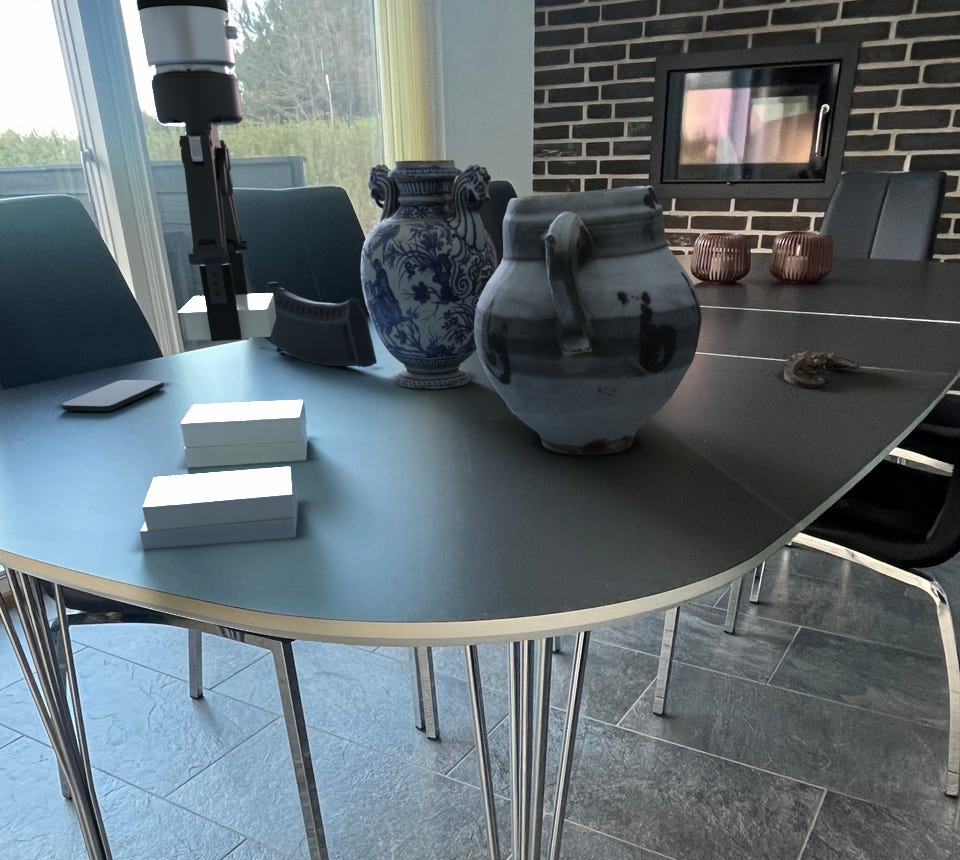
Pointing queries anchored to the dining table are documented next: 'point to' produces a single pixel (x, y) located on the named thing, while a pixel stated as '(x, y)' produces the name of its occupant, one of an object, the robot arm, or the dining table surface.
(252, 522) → the white box
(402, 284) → the decorative vase
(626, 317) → the ceramic pot
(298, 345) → the magazine
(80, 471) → the dining table surface
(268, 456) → the white books
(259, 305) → the white book
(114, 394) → the phone
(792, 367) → the seahorse
